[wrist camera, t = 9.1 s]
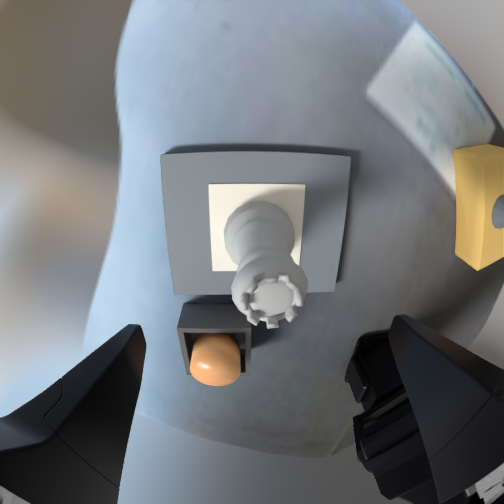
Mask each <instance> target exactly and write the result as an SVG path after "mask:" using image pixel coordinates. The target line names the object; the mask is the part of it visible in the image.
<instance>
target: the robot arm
mask: <svg viewBox="0 0 504 504" xmlns="http://www.w3.org/2000/svg"><path fill="white" fill-rule="evenodd" d="M145 353H146V341H145V338H144V334H143V331H142V328H141V326H140V325H138V324H128V325H127V326H126V327H124V328H123V329H122V330H121V331H119V332H118V333H117V334H115V335H114V336H113V337H112V338H110V339H109V340H108V341H106V342H105V343H104V344H103V345H101V346H100V347H99V348H98V349H96V350H95V351H94V352H92V353H91V354H90V355H89V356H87V357H86V358H85V359H84V360H82V361H81V362H80V363H79V364H77V365H76V366H75V367H74V368H72V369H71V370H70V371H69V372H67V373H66V374H65V375H64V376H62V378H60V379H59V380H57V381H56V382H55V383H54V384H52V385H51V386H50V387H49V388H47V389H46V390H45V391H43V392H42V393H40V394H39V395H37V396H36V397H35V398H33V399H32V400H30V401H29V402H27V403H26V404H24V405H23V406H21V407H20V408H18V409H17V410H15V411H13V412H12V413H10V414H9V415H7V416H5V417H1V418H0V504H117V500H118V495H119V487H120V481H121V474H122V469H123V464H124V458H125V453H126V448H127V443H128V438H129V434H130V429H131V425H132V420H133V416H134V412H135V407H136V403H137V399H138V395H139V391H140V387H141V381H142V374H143V367H144V360H145ZM345 381H346V382H347V383H349V384H350V386H351V389H352V392H353V394H354V397H355V400H356V402H357V403H362V406H363V409H364V411H365V412H363V413H361V414H360V415H356V416H354V417H353V422H354V425H353V427H354V435H355V442H356V450H357V456H358V461H359V462H360V463H362V464H363V466H364V467H365V468H366V469H367V470H368V471H369V472H370V473H373V475H374V476H375V479H376V481H377V484H378V487H379V489H380V493H381V494H382V495H383V496H385V497H386V498H388V499H389V500H392V499H394V498H396V497H398V498H400V499H402V500H405V501H407V502H409V503H411V504H504V369H501V368H500V367H498V366H496V365H494V364H492V363H490V362H488V361H486V360H484V359H483V358H481V357H479V356H477V355H476V354H474V353H472V352H471V351H469V350H467V349H465V348H464V347H462V346H460V345H458V344H457V343H455V342H453V341H451V340H450V339H448V338H446V337H444V336H443V335H441V334H439V333H437V332H436V331H434V330H432V329H430V328H429V327H427V326H425V325H423V324H422V323H420V322H418V321H416V320H414V319H413V318H411V317H409V316H407V315H405V314H402V315H396V316H395V317H394V319H393V322H392V324H391V327H390V330H389V333H386V334H380V335H372V336H365V337H361V338H359V339H358V341H357V344H356V347H355V350H354V353H353V356H352V357H351V359H350V362H349V365H348V368H347V371H346V376H345ZM472 485H475V487H476V490H477V491H475V492H474V493H472V494H471V495H470V494H469V492H468V489H467V488H469V487H470V486H472Z"/></svg>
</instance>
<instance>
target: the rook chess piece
mask: <svg viewBox="0 0 504 504" xmlns="http://www.w3.org/2000/svg"><path fill="white" fill-rule="evenodd" d="M224 240H225V249H226V251H227V253H228V254H229V256H230V258H231V259H232V261H233V262H234V263H235V264H237V265H238V268H237V274H236V275H235V278H234V281H233V283H232V286H231V291H232V300H233V302H234V303H235V305H236V306H237V308H238V309H239V311H241V312H242V313H244V314H245V315H247V320H248V321H249V322H251V323H252V324H254V325H255V326H257V324H258V323H259V322H260V320H261V321H265V322H266V323H267V329H269V328H279V325H278V320H281V319H283V318H286V319H287V320H288V321H289V323H291V322H292V321H293V320H294V319H295V318H297V317H298V312H297V309H298V308H299V307H300V306H304V299H305V297H306V296H307V291H308V280H307V278H306V275H305V273H304V271H303V269H302V268H301V267H300V266H298V265H297V264H296V263H295V262H294V260H293V258H292V256H291V252H292V250H293V248H294V245H295V231H294V228H293V225H292V222H291V220H290V218H289V216H288V214H287V213H286V212H285V211H284V210H283V209H282V208H280V207H279V206H278V205H276V204H273V203H270V202H267V201H250V202H248V203H246V204H244V205H242V206H240V207H237V208H236V209H235V211H234V212H233V213H232V214H231V215H230V216H229V217H228V219H227V222H226V225H225V228H224Z"/></svg>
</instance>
